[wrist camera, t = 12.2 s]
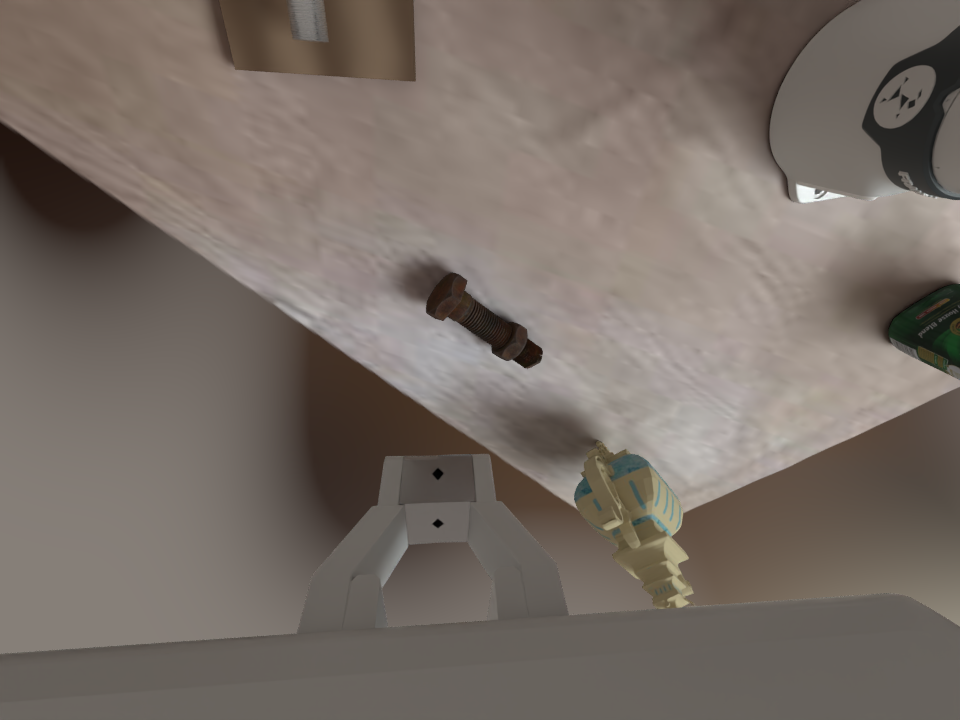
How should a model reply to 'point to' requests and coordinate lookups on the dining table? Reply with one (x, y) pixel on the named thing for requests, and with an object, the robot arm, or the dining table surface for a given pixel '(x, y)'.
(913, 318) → the coffee jar
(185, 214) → the dining table surface
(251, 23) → the pipe rig
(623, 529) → the cream ornament
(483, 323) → the bolt
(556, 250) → the dining table surface
